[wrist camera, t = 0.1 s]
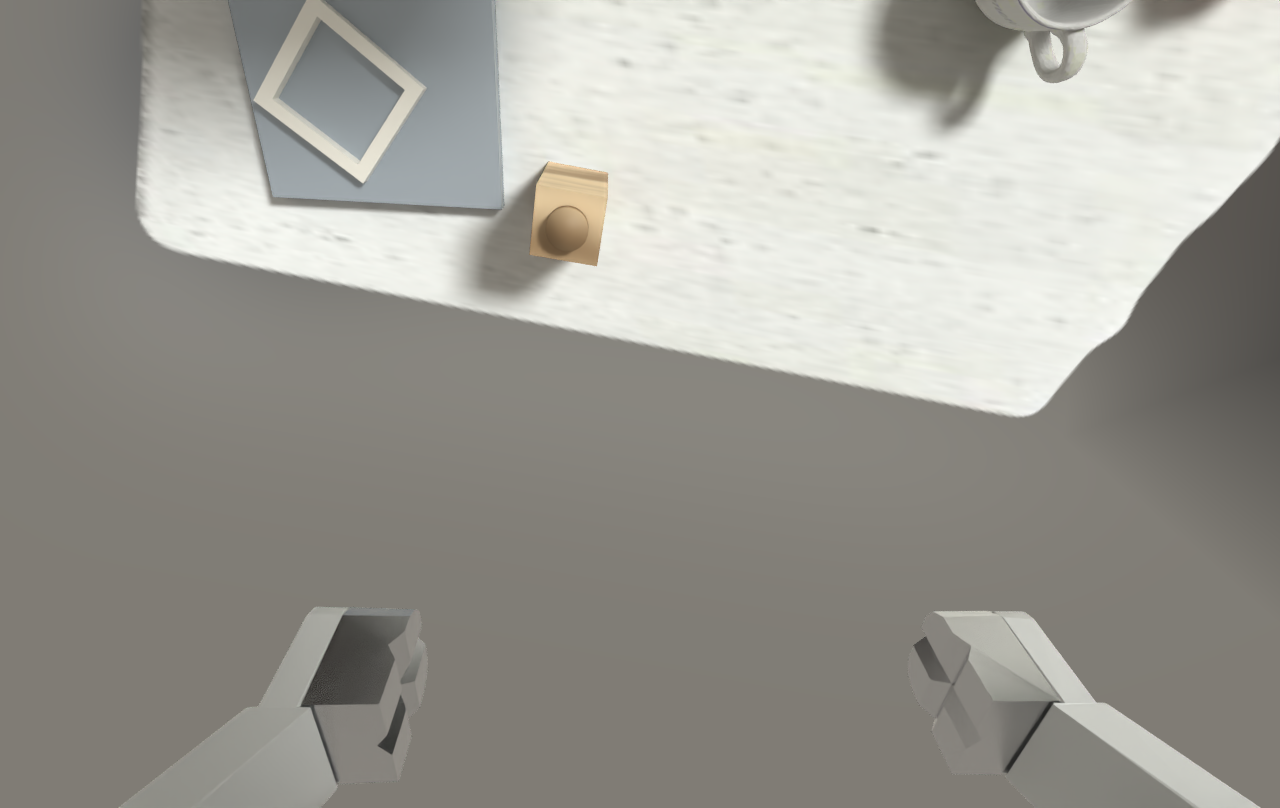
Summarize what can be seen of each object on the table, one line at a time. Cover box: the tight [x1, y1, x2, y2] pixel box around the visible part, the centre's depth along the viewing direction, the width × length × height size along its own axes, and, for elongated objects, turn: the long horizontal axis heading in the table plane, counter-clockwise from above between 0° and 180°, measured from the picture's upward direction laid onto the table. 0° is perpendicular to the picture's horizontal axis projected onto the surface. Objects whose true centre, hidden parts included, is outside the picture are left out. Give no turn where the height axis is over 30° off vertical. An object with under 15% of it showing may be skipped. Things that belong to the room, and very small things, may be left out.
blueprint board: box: [228, 0, 504, 210], centre depth 47 cm, size 18×18×2 cm
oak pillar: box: [529, 162, 608, 266], centre depth 48 cm, size 5×5×11 cm
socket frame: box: [253, 0, 427, 183], centre depth 46 cm, size 9×9×1 cm
